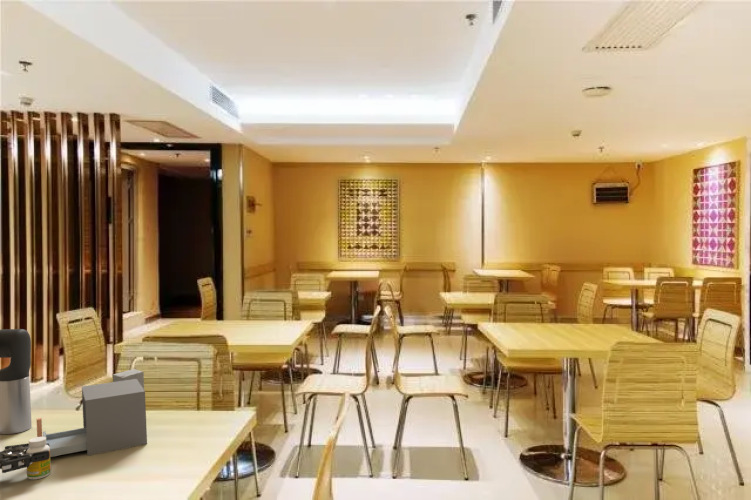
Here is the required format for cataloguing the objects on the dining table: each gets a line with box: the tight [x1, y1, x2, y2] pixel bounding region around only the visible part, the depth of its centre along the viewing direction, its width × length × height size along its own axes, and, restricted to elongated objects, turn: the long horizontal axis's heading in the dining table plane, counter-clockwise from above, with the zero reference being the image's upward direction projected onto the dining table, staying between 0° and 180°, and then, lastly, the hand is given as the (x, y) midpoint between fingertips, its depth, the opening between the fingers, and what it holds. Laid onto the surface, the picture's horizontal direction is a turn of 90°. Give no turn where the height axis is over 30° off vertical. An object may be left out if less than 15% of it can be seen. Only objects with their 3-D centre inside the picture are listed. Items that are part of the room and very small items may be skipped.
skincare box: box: [112, 368, 145, 390], centre depth 198 cm, size 8×7×16 cm
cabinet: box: [81, 379, 148, 456], centre depth 175 cm, size 18×16×16 cm
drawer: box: [36, 417, 87, 458], centre depth 169 cm, size 15×16×11 cm
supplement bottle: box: [26, 436, 52, 480], centre depth 151 cm, size 5×5×10 cm
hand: (49, 450), depth 152 cm, fingers closed on supplement bottle, 5 cm apart
